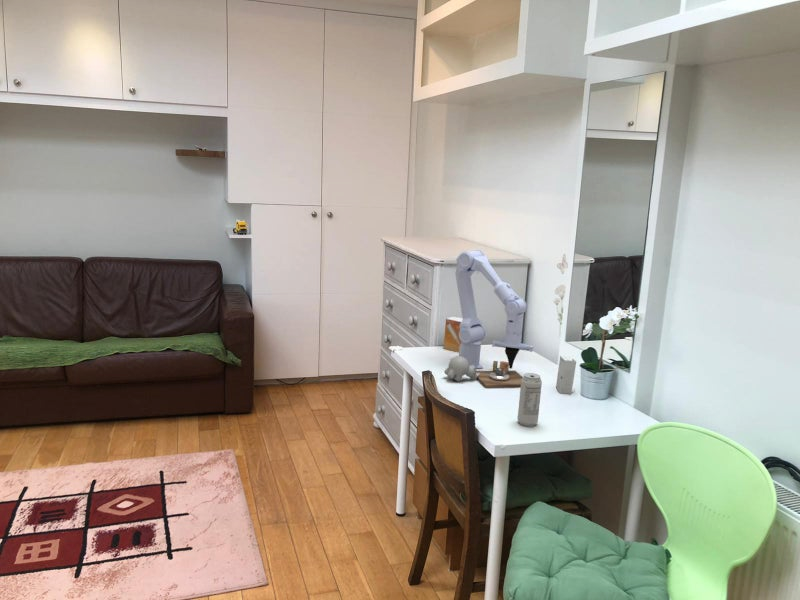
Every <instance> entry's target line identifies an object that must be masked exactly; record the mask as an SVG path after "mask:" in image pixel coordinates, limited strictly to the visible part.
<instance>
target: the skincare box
mask: <svg viewBox="0 0 800 600" xmlns="http://www.w3.org/2000/svg"><path fill="white" fill-rule="evenodd" d="M576 365H577V360H576V359H575V357H573V356H572V355H560V356H559V362H558V369H557V378H556V385H555V388H556V390H557V391H558V393H560V394H565V395H567V394H568V395H571V394H572V393H573V392H572V391H573V387H574V386H573V385H574V379H575V373H576Z"/></svg>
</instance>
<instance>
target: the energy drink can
mask: <svg viewBox="0 0 800 600" xmlns="http://www.w3.org/2000/svg"><path fill="white" fill-rule="evenodd" d="M522 377H523V378H522V379H521V388H519V389H520V390H519V400H518V409H517V421H518V423H519V424H520V425H522V426H524V427H534V426H536V425H537V423H538V422H539V413H540V404H541V394H542V384H543V382H542V379H541V375H539V374H536V373H533V372H532V373H531V372H527V373H524V374H523V376H522Z"/></svg>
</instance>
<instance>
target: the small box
mask: <svg viewBox="0 0 800 600" xmlns="http://www.w3.org/2000/svg"><path fill="white" fill-rule="evenodd" d="M462 320H463V317H457V316H450V317H447V318H446V319H445V326H444V327H445V328H444V329H445V330H444V340H443V349H444V350H449V351H452V350H453V352H456V351H457V353H459V347H460V344H461V341H460V339H459V331H460V327H459V325H460V323H461V322H462Z"/></svg>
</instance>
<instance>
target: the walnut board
mask: <svg viewBox="0 0 800 600" xmlns="http://www.w3.org/2000/svg"><path fill="white" fill-rule="evenodd" d="M498 363H499V362H498V360H493V363H492V370H476V373H477V374H478V373H479V376H478V377H477V378H476V379H475V380H476V381H477V382H479V383H480V385H482V386H483V388H484V389H520V388H521V379H522V378H523V377H524V376H522V375H521V374H520V373H519V372H517V371H516V370H508V372H507V373H506V374H508V375H509V379H508V380H495V379H492V378H490V377H489V376H490V373H492V372H496V368H498V365H499V364H498Z"/></svg>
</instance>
